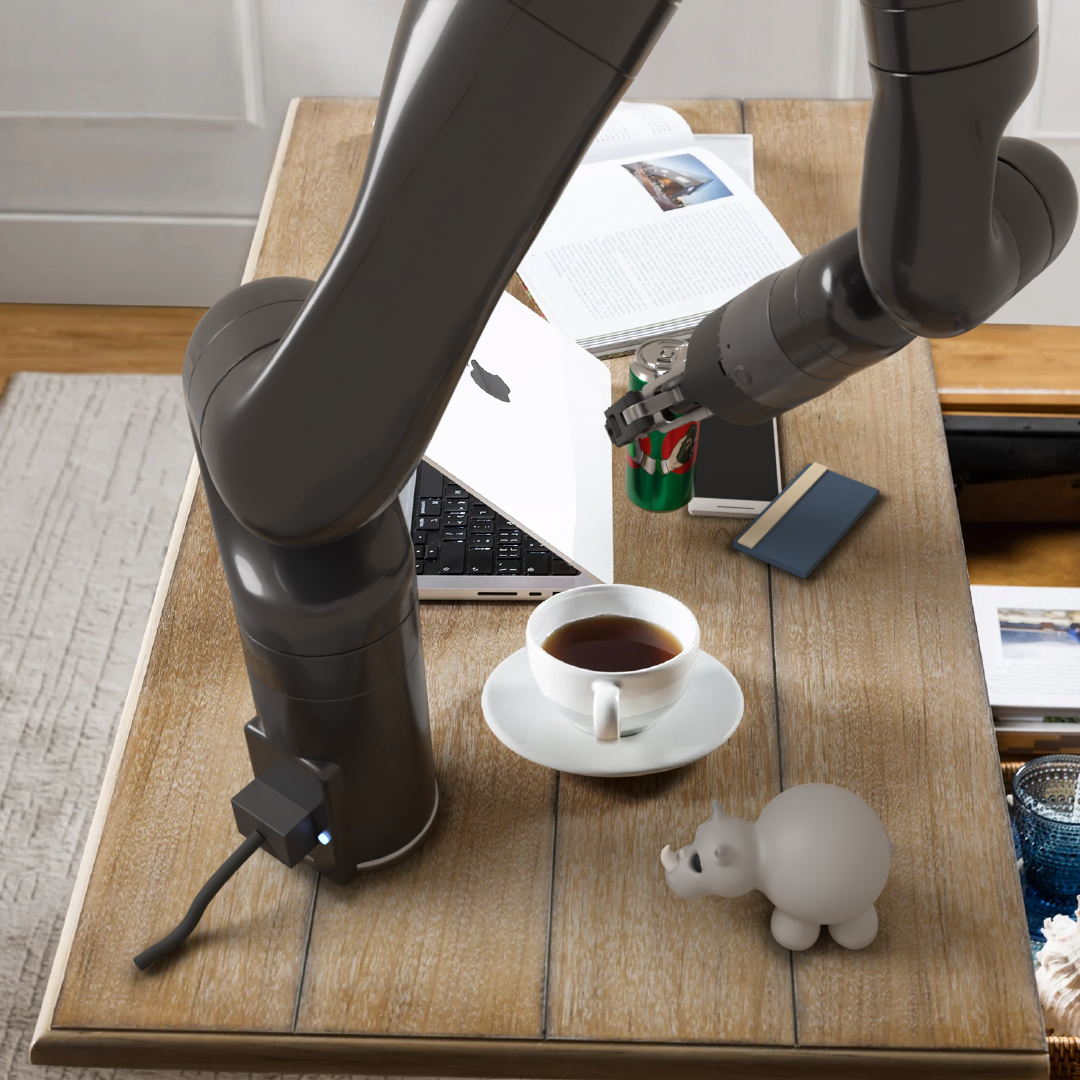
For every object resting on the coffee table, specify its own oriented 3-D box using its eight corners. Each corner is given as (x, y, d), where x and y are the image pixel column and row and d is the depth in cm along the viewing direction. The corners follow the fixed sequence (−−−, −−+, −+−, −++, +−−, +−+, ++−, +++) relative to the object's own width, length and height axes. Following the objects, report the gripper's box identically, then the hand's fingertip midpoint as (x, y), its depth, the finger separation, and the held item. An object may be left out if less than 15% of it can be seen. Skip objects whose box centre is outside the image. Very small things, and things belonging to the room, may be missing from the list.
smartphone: (773, 410, 108) (775, 400, 108) (782, 524, 96) (783, 514, 96) (689, 406, 109) (690, 396, 108) (687, 518, 97) (688, 508, 96)
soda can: (699, 481, 94) (711, 339, 86) (687, 522, 90) (698, 378, 83) (632, 470, 95) (638, 329, 87) (617, 511, 91) (622, 368, 84)
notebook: (805, 579, 91) (806, 570, 90) (731, 547, 94) (733, 538, 93) (878, 496, 98) (880, 487, 98) (808, 469, 101) (810, 460, 100)
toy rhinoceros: (652, 851, 73) (660, 753, 67) (863, 854, 73) (888, 755, 67) (659, 964, 67) (668, 866, 62) (887, 967, 67) (916, 869, 62)
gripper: (842, 254, 78) (704, 342, 93) (654, 322, 72) (540, 403, 87) (891, 366, 78) (745, 435, 93) (708, 444, 72) (584, 504, 87)
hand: (646, 420), depth 90 cm, fingers closed on soda can, 5 cm apart
